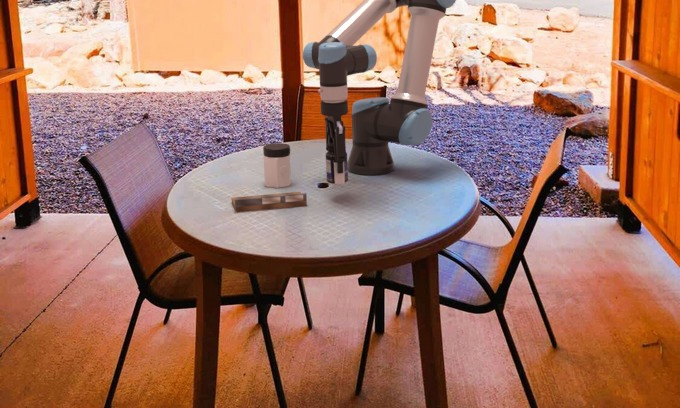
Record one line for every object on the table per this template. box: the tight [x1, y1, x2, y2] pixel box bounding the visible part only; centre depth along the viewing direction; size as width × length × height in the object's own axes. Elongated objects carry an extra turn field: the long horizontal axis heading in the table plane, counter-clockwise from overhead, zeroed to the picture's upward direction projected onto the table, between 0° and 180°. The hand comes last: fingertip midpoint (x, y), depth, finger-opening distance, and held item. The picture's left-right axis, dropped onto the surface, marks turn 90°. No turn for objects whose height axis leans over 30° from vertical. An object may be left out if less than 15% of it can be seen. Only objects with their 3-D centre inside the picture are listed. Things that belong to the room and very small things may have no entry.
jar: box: [262, 142, 292, 189], centre depth 239 cm, size 9×8×12 cm
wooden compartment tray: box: [231, 191, 308, 213], centre depth 221 cm, size 20×9×4 cm, turn 104°
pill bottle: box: [325, 142, 349, 185], centre depth 221 cm, size 6×6×11 cm
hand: (336, 180), depth 223 cm, fingers closed on pill bottle, 6 cm apart
